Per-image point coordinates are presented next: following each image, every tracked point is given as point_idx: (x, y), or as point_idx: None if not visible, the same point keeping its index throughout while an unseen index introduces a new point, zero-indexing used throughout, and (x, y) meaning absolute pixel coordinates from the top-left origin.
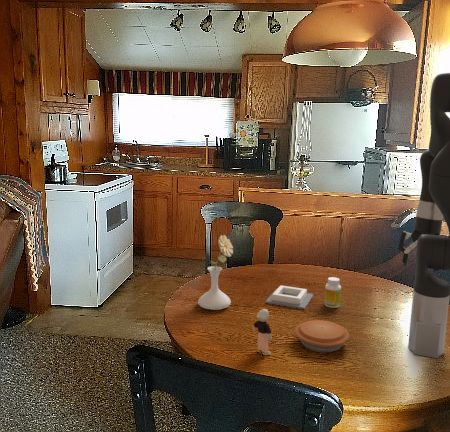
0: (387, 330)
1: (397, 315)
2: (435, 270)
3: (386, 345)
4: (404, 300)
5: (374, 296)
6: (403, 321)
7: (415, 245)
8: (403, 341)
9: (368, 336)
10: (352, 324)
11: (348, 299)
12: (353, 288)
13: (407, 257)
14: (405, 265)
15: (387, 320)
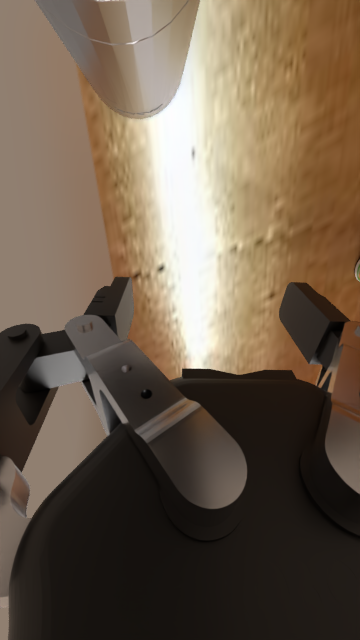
0: (245, 160)
1: (221, 279)
2: (120, 277)
3: (249, 15)
4: (209, 364)
5: (269, 356)
6: (206, 248)
7: (348, 379)
8: (200, 91)
9: (301, 73)
10: (338, 154)
11: None
12: (309, 375)
13: (320, 306)
14: (295, 282)
15: (244, 235)
